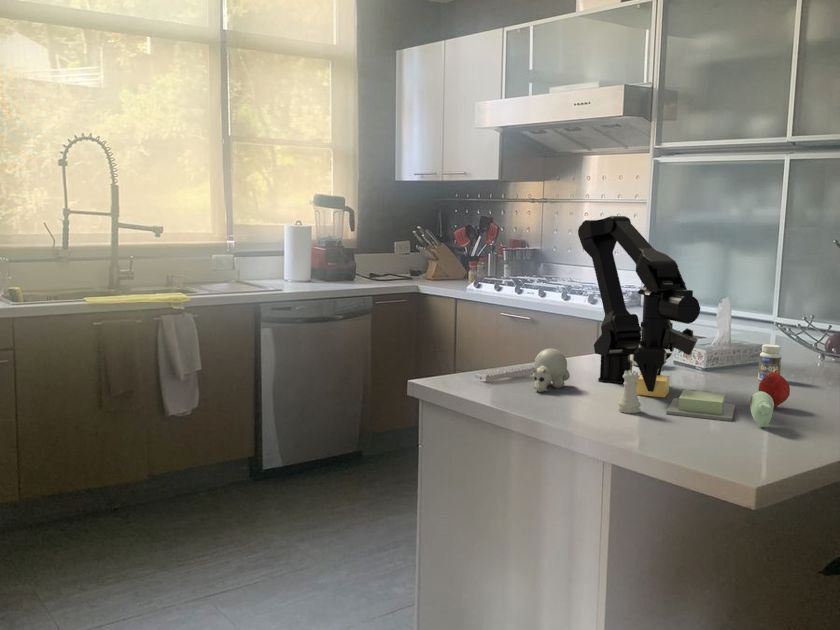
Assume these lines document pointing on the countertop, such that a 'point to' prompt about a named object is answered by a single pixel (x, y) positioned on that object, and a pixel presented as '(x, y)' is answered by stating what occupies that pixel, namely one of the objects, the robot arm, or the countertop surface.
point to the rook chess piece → (630, 394)
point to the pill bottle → (769, 360)
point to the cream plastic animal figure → (550, 369)
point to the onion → (775, 387)
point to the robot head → (761, 408)
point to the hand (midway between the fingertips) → (652, 388)
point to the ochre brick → (659, 389)
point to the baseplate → (702, 415)
